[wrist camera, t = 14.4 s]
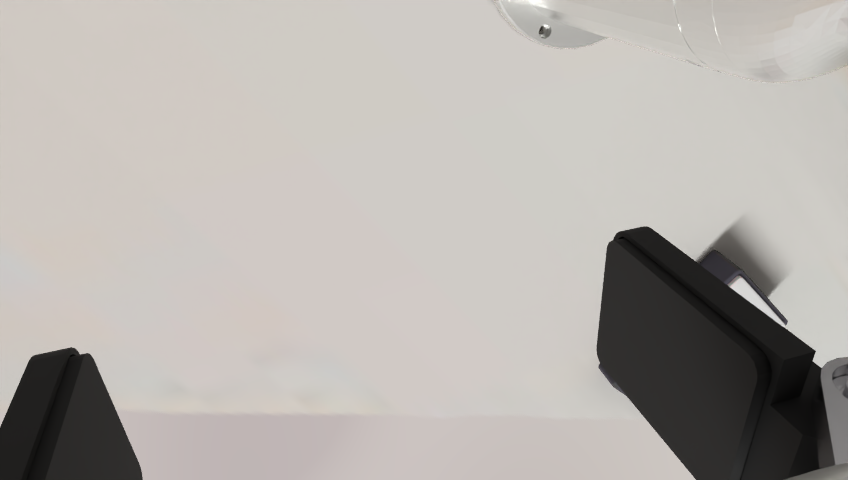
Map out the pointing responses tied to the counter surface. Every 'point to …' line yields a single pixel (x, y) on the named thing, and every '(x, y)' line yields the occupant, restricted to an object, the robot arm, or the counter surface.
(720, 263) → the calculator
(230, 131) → the counter surface
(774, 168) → the counter surface
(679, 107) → the counter surface
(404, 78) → the counter surface
